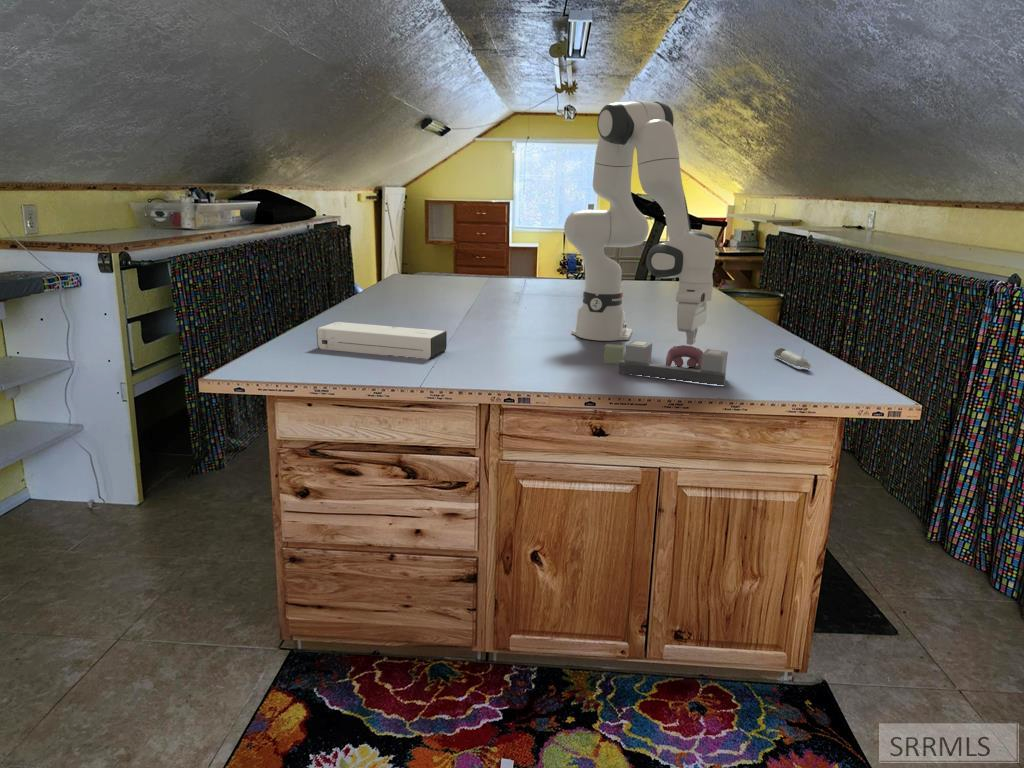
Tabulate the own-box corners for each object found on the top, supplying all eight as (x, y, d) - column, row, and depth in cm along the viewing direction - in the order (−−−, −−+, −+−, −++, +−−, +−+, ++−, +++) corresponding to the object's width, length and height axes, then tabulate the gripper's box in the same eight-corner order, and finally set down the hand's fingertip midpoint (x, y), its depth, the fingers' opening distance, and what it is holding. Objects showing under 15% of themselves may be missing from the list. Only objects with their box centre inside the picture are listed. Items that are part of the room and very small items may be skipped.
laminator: (446, 352, 205) (446, 330, 203) (429, 362, 193) (429, 339, 192) (337, 342, 213) (336, 321, 212) (315, 350, 202) (314, 328, 200)
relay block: (605, 359, 201) (606, 343, 199) (623, 361, 199) (624, 345, 198) (603, 363, 197) (604, 346, 196) (622, 364, 196) (623, 348, 194)
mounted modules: (631, 367, 192) (633, 339, 190) (724, 379, 183) (727, 350, 181) (623, 373, 186) (626, 344, 184) (720, 385, 177) (723, 355, 175)
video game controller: (703, 374, 194) (706, 349, 195) (702, 370, 189) (705, 344, 191) (665, 370, 197) (668, 345, 198) (664, 366, 192) (667, 341, 194)
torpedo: (768, 358, 209) (771, 336, 207) (784, 358, 209) (787, 336, 208) (799, 374, 192) (803, 350, 190) (816, 374, 192) (820, 350, 190)
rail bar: (620, 372, 187) (620, 359, 186) (724, 386, 176) (725, 373, 175) (617, 374, 184) (618, 361, 184) (722, 388, 174) (724, 375, 173)
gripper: (691, 288, 206) (687, 337, 210) (674, 295, 189) (670, 348, 192) (714, 290, 204) (710, 339, 207) (699, 297, 186) (694, 351, 189)
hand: (690, 343), depth 199 cm, fingers closed
